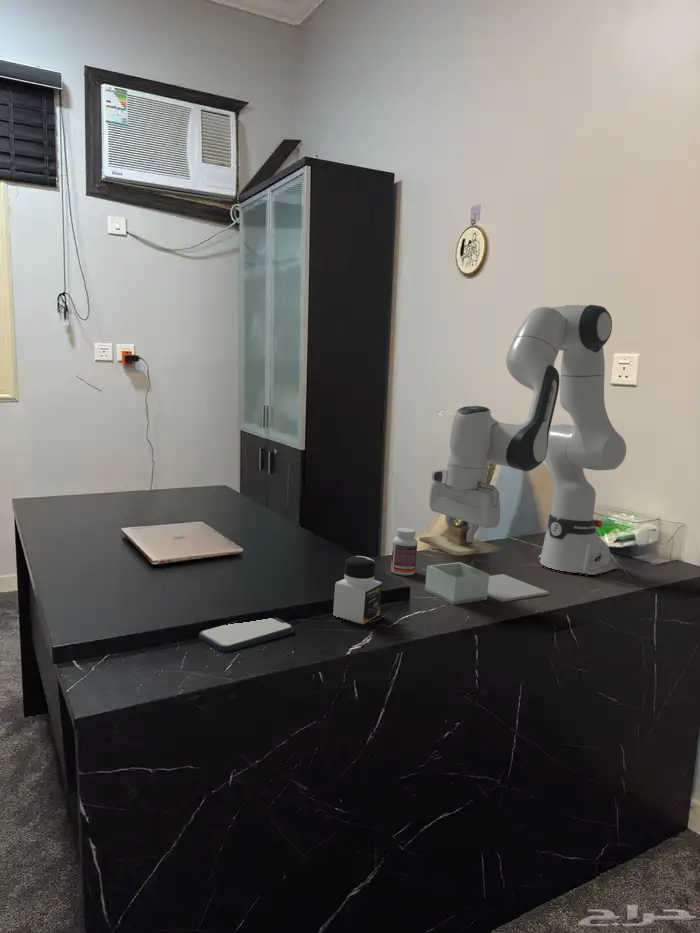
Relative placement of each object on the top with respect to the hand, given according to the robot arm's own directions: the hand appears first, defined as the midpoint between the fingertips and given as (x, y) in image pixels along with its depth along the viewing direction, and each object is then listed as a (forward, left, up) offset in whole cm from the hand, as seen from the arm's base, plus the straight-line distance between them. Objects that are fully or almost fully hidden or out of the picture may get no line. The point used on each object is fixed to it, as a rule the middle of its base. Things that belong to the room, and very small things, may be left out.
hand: (460, 538), depth 154 cm
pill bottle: (+1, -19, -14) cm, 23 cm away
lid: (0, 0, -2) cm, 2 cm away
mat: (-15, 0, -13) cm, 20 cm away
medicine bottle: (+29, +3, -14) cm, 32 cm away
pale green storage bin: (0, 0, -13) cm, 13 cm away
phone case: (+53, +4, -14) cm, 55 cm away
